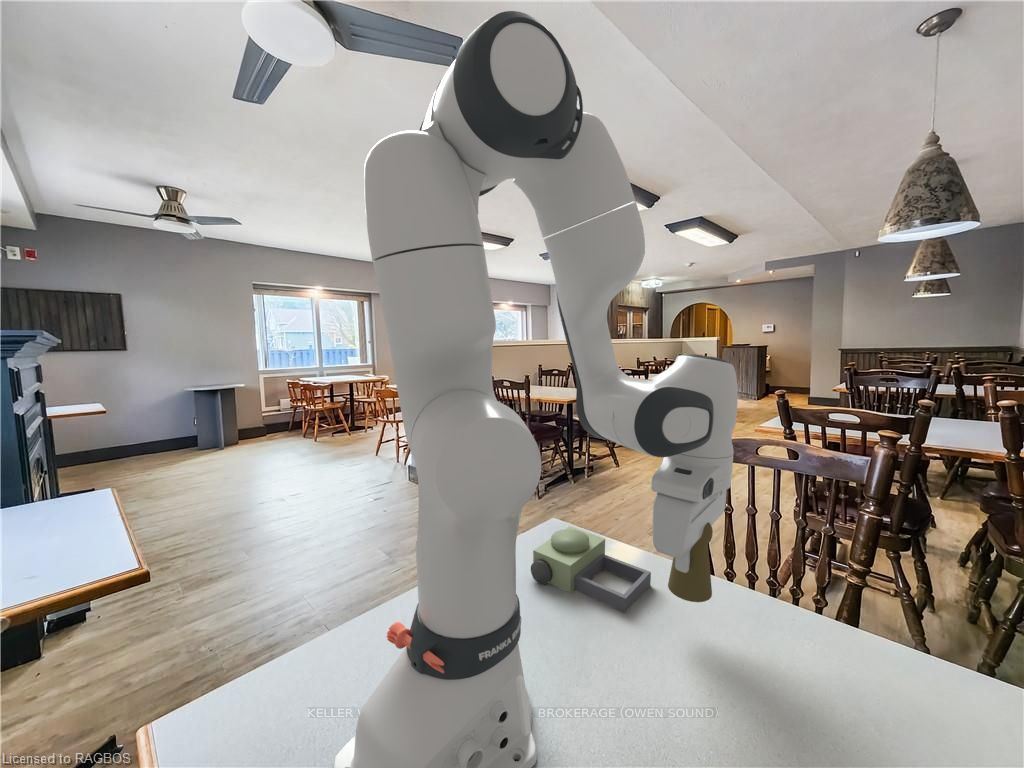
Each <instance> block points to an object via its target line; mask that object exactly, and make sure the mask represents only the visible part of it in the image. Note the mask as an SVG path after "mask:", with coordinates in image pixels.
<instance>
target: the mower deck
mask: <svg viewBox="0 0 1024 768" xmlns="http://www.w3.org/2000/svg"><path fill="white" fill-rule="evenodd" d="M532 553H533V559H532V560H533V563H532V564H531V565H530V573H531V576H532V578H533V579H534V581H536V582H537V584H540V585H546V584H547V583H548V584H551V585H552V586H555V587H556V588H559V589H560V590H563V591H565V592H567V593H569V594H571V593H573V592H574V591H575V592H578V593H581V594H582V595H585V596H586V597H589V598H591V599H594V600H596V601H597V602H601V603H603V604H604V605H606V606H608V607H611V608H613V609H615V610H617V611H620V612H622V613H624V614H626V613H627V612H628V611H629V610H630V609H631V608H632V606H633V605H634V604H635V603H636V602H637V601H638V600H639V598H641V597H642V595H644V593H645V592H646V591H647V590H648V589H649V587H650V586H651V583H652V582H651V581H652V580H651V579H652V572H651V571H649V570H647V569H644V568H641V567H638V566H636V565H633V564H631V563H629V562H625V561H623V560H620V559H618V558H615V557H612V556H609V555H606V538H605V537H601V536H598V535H595V534H593V533H591V532H586V531H584V530H581V529H578V528H575V527H573V526H568V527H567V528H565V529H560V530H557V531H554V533H552V535H551V537H550V539H549V540H547V541H545V542H544V543H542V544H540V545H539V546H538V547H536V548H535V549H533V551H532ZM602 571H607V572H609V573H612V574H614V575H617V576H619V577H621V578H625V579H627V580H629V581H631V582H634V583H633V584H632V585H631V586H630V587H629V588H628V589H627V590H626V591H625V592H624V593H622V592H619V591H617V590H615V589H612V588H610V587H607V586H605V585H603V584H600V583H599V582H595V581H593V579H594V578H596V577H597V575H599V574H600V573H601V572H602Z"/></svg>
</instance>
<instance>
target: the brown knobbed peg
mask: <svg viewBox="0 0 1024 768" xmlns="http://www.w3.org/2000/svg"><path fill="white" fill-rule="evenodd" d="M712 526H713V525H712ZM712 526H711V525H710V523H709V522H708V523H707V524H706V525H705V527H704V529H703V533H702V536H701V538H700V539H699V540H698V541H697V542H696V543H695V544H694V546H693V547H692V548H691V550H690V557H691V558H692V563H691V568H690V570H689V571H688V572H687V573H684V572H681V571H678V570H677V569H676V568H675V558H674V557H672V563H671V567H670V573H669V577H668V582H667V587H668V590H669V591H670V592H671V594H673V595H675V597H677V598H680V599H681V600H684V601H687V602H690V603H691V602H692V603H703V602H707V601H709V600H710V599H711V598H712V596H713V589H712V579H711V576H712V575H711V568H710V556H709V543H710V542H711V541H712V539H713V531H714V530H713V527H712Z"/></svg>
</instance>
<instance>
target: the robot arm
mask: <svg viewBox="0 0 1024 768" xmlns="http://www.w3.org/2000/svg"><path fill="white" fill-rule="evenodd" d="M582 96H583V95H582V91H581V89H580V88H579V86H578V84H577V81H576V76H575V73H574V70H573V67H572V64H571V63H570V60H569V58H568V57H567V54H566V52H565V50H564V48H563V47H562V46H561V43H560V42H559V40H558V39H557V38H556V37H555V35H554V34H553V33H552V32H551V31H550V30H549V29H548V28H547V26H545V25H544V24H543V23H541V21H539V20H538V19H536V18H535V17H533V16H531V15H529V14H527V13H525V12H521V11H516V10H508V11H507V10H506V11H501V12H499V13H497V14H494V15H493V16H491V17H489V18H487V19H485V20H483V22H482V23H480V24H479V25H478V26H477V27H476V28H475V29H474V30H473V31H471V33H470V34H469V35H468V36H467V37H466V39H464V40H463V42H462V44H461V46H460V47H459V49H458V52H457V54H456V57H455V59H454V61H453V62H452V63H451V65H450V67H448V70H447V71H446V72H445V74H444V76H443V77H442V78H441V80H440V81H439V83H438V85H437V86H436V88H435V91H434V93H433V96H432V98H431V101H430V103H429V107H428V109H427V112H426V114H425V116H424V118H423V120H422V122H421V126H420V128H419V130H403V131H399V132H396V133H393V134H392V133H391V134H389V135H388V136H386V137H384V138H382V139H380V140H378V142H377V143H375V145H373V146H372V148H371V149H370V151H369V152H368V154H367V156H366V159H365V161H364V162H365V163H364V169H363V170H364V171H363V185H364V187H363V188H364V189H363V191H364V207H365V209H364V210H365V219H366V221H365V222H366V229H367V237H368V243H369V249H370V253H371V254H370V256H371V261H372V266H373V269H374V270H373V271H374V275H375V281H376V284H377V290H378V293H379V299H380V304H381V307H382V314H383V319H384V325H385V329H386V333H387V338H388V339H387V340H388V343H389V349H390V356H391V360H392V361H391V362H392V366H393V367H392V369H393V373H394V379H395V384H396V389H397V390H396V391H397V395H398V397H397V398H398V400H399V401H398V402H399V407H400V412H401V418H402V423H403V428H404V433H405V439H406V443H407V445H408V448H409V450H410V452H411V453H410V454H411V455H412V458H413V461H414V465H415V469H416V476H417V482H418V483H417V484H418V487H417V488H418V513H417V514H418V516H417V536H416V540H415V541H416V542H415V556H416V558H415V559H416V560H415V561H416V577H417V579H416V581H417V598H418V600H417V601H418V603H417V605H416V607H415V611H414V615H413V617H412V622H411V625H410V629H409V628H407V627H405V625H404V624H403V623H402V622H400V621H397V622H394V623H393V624H391V626H389V628H388V629H389V630H387V633H386V634H387V635H386V639H387V641H389V643H391V644H393V645H395V647H396V648H397V649H398V650H402V649H403V651H402V652H401V653H400V654H399V656H397V658H396V660H395V661H394V663H393V664H392V665H391V666H390V668H389V670H388V671H387V673H386V674H385V675H384V676H383V678H382V680H381V681H380V682H379V684H378V685H377V686H376V687H375V689H374V691H373V692H372V693H371V695H370V696H369V697H368V699H367V700H366V701H365V703H364V704H363V705H362V708H361V710H360V712H359V715H358V719H357V723H356V729H355V734H354V735H353V737H351V738H350V740H349V741H348V742H346V744H345V745H343V746H342V748H341V749H340V750H339V751H338V752H337V753H336V755H335V756H334V759H333V765H332V768H533V767H534V766H535V764H536V762H537V761H538V760H537V759H538V753H537V752H538V751H537V746H536V740H535V738H534V734H533V732H532V722H533V710H532V709H533V708H532V702H531V698H530V696H529V694H528V691H527V687H526V683H525V682H526V681H525V677H524V676H525V675H524V669H523V663H522V659H521V652H520V646H519V641H520V638H521V634H522V633H521V632H522V631H521V630H522V629H521V627H522V616H521V604H520V599H519V596H518V594H517V565H516V564H517V561H516V560H517V558H516V557H517V555H516V554H517V553H516V551H517V550H516V548H517V538H518V536H517V535H518V531H519V525H520V521H521V517H522V512H523V508H524V507H525V506H526V505H527V503H528V502H529V501H530V500H531V498H532V497H533V495H534V494H535V492H536V489H537V487H538V485H539V483H540V479H541V474H542V456H541V452H540V449H539V445H538V443H537V441H536V439H535V437H534V436H533V434H532V432H531V430H530V429H529V427H528V426H527V425H526V423H525V421H524V420H523V419H522V418H521V417H520V415H519V414H518V413H517V412H516V411H515V410H514V409H512V408H511V407H509V406H508V405H506V404H504V403H502V402H500V401H498V399H497V397H496V395H495V391H494V386H493V384H494V383H493V345H494V337H495V333H496V327H497V326H496V325H497V321H496V316H495V315H496V314H495V310H494V302H493V297H492V290H491V285H490V283H491V282H490V277H489V272H488V265H487V260H486V251H485V247H484V240H483V235H482V229H481V226H480V221H479V219H480V218H479V199H480V197H482V196H484V195H486V194H488V193H490V192H491V191H493V190H494V189H495V188H496V187H498V185H500V184H501V183H503V182H504V181H506V180H509V179H511V180H512V183H513V184H514V185H515V186H517V187H518V188H519V189H520V190H521V191H522V192H523V194H524V195H525V196H526V198H527V199H528V201H529V203H530V204H531V206H532V208H533V210H534V213H535V217H536V219H537V224H538V227H539V230H540V232H541V237H542V238H543V242H544V245H545V247H546V252H547V254H548V258H549V261H550V264H551V269H552V272H553V277H554V280H555V285H556V300H557V307H558V313H559V317H560V321H561V326H562V328H563V329H562V330H563V332H564V338H565V340H566V345H567V348H568V352H569V356H570V360H571V364H572V368H573V372H574V376H575V384H576V396H575V397H576V398H575V401H576V402H575V403H576V404H575V405H576V406H575V407H576V414H577V418H578V421H579V423H580V425H581V427H583V429H584V430H585V432H587V433H588V434H589V435H591V436H593V437H595V438H599V439H602V440H605V441H609V442H613V443H615V444H617V445H618V444H619V445H620V446H623V447H625V448H627V449H631V450H635V451H637V452H639V453H642V454H643V455H646V456H651V457H656V458H662V461H661V463H660V465H659V467H658V468H657V470H655V471H656V472H654V474H653V476H652V478H651V484H650V485H651V486H650V488H651V491H652V492H655V493H656V494H655V496H654V501H653V506H652V545H653V547H654V549H655V550H656V552H659V553H660V554H663V555H666V556H669V557H672V558H673V557H674V558H675V568H676V569H677V570H678V571H681V572H684V573H687V572H688V571H689V570H690V568H691V563H692V558H691V557H690V550H691V548H692V547H693V546H694V544H695V543H696V542H697V541H698V540H699V539H700V538H701V536H702V533H703V529H704V527H705V525H706V524H707V523H708V522H709V523H710V525H711V526H713V525H714V524H715V523H716V522H717V520H719V518H721V516H723V514H724V512H725V510H726V509H725V508H726V504H727V503H726V502H727V490H729V489H730V488H731V486H732V477H733V464H734V445H733V442H732V441H733V439H732V437H733V431H734V428H735V426H736V424H737V417H738V416H737V415H738V399H739V398H738V396H739V395H738V394H739V393H738V391H739V389H738V378H737V374H736V369H735V366H734V365H733V364H732V363H731V362H729V361H728V360H726V359H724V358H719V357H715V356H710V355H709V356H708V355H703V354H695V353H686V354H685V353H682V354H679V355H678V356H676V358H675V361H674V362H673V363H672V364H671V365H670V366H669V367H668V368H667V369H665V370H663V371H662V372H660V373H659V374H658V373H657V374H656V375H655V376H652V377H649V378H648V379H643V378H637V377H631V376H629V375H627V374H626V373H625V372H624V371H623V370H622V369H621V368H620V366H618V364H617V360H616V357H615V351H614V347H613V342H612V338H611V332H610V328H609V323H608V311H609V307H610V304H611V302H612V301H613V300H614V298H615V297H616V296H617V295H618V294H619V293H620V292H621V291H622V290H624V289H625V288H627V286H628V285H629V284H630V283H631V281H632V280H633V279H634V278H635V277H636V275H637V273H638V271H639V270H640V268H641V265H642V263H643V261H644V258H645V254H646V240H645V232H644V226H643V222H642V218H641V215H640V211H639V208H638V203H637V202H636V198H635V195H634V191H633V188H632V185H631V182H630V179H629V176H628V174H627V171H626V169H625V166H624V162H623V161H622V158H621V155H620V154H619V151H618V149H617V148H616V145H615V143H614V141H613V139H612V137H611V135H610V133H609V131H608V129H607V128H606V126H605V124H604V123H603V121H602V120H601V119H600V118H599V117H597V116H596V115H595V114H592V113H590V112H589V113H588V112H584V110H583V109H584V108H583V107H584V105H583V97H582ZM634 201H635V202H634ZM515 760H516V761H515ZM517 760H518V761H517Z"/></svg>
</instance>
